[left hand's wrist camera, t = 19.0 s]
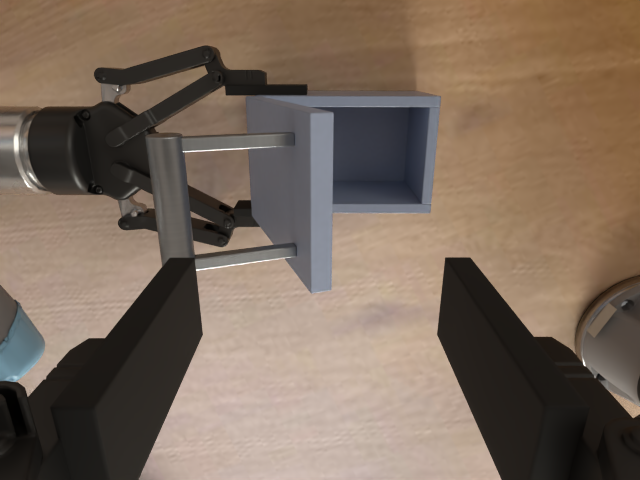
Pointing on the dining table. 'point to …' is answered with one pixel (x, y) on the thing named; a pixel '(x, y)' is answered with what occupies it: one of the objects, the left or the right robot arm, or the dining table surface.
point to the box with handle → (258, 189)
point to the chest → (379, 148)
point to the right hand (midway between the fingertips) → (307, 151)
